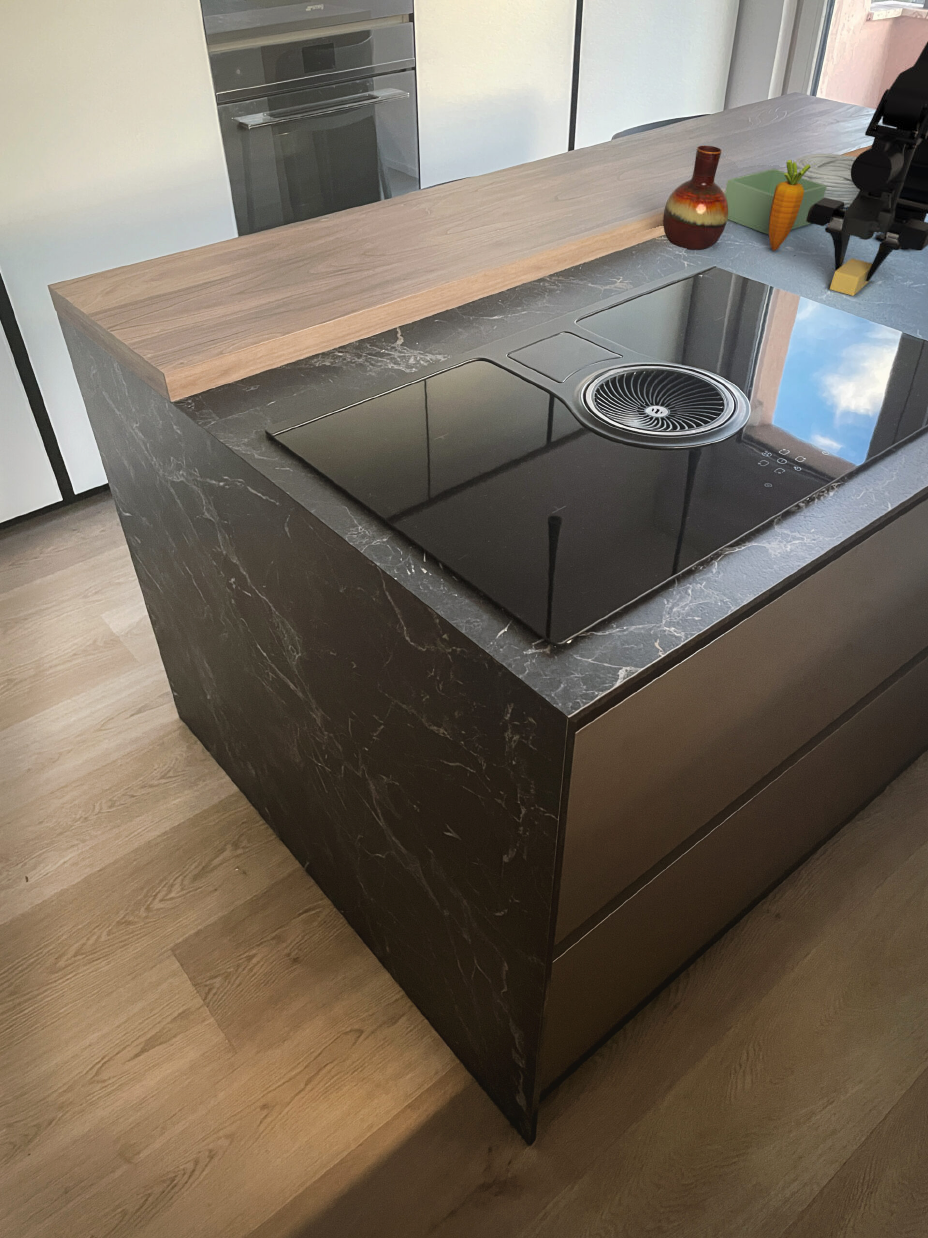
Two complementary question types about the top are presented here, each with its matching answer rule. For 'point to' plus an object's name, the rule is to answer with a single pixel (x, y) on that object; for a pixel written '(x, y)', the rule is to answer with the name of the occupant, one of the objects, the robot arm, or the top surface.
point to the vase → (697, 205)
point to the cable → (831, 175)
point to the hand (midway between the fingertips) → (852, 276)
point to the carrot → (785, 205)
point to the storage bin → (765, 199)
